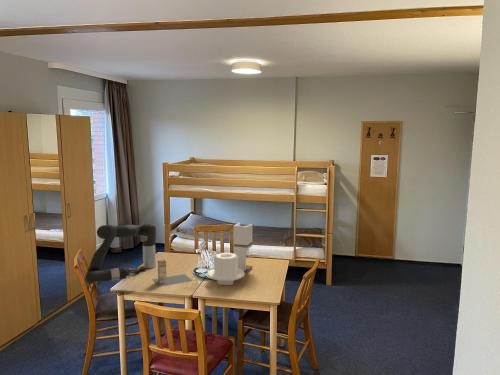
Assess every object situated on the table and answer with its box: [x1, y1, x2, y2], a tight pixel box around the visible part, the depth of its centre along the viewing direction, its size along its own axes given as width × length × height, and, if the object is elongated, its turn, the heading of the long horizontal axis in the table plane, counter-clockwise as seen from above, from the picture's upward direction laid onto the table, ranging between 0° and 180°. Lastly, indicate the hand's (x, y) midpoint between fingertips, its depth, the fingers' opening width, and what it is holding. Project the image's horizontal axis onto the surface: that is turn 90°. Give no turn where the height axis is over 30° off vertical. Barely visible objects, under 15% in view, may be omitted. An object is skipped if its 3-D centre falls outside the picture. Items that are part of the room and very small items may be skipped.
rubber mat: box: [152, 273, 193, 288], centre depth 276 cm, size 16×24×1 cm, turn 119°
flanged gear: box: [207, 252, 245, 286], centre depth 273 cm, size 25×25×19 cm
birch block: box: [157, 259, 167, 283], centre depth 272 cm, size 4×4×15 cm
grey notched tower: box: [233, 222, 253, 274], centre depth 297 cm, size 11×11×35 cm
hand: (144, 269), depth 266 cm, fingers closed
